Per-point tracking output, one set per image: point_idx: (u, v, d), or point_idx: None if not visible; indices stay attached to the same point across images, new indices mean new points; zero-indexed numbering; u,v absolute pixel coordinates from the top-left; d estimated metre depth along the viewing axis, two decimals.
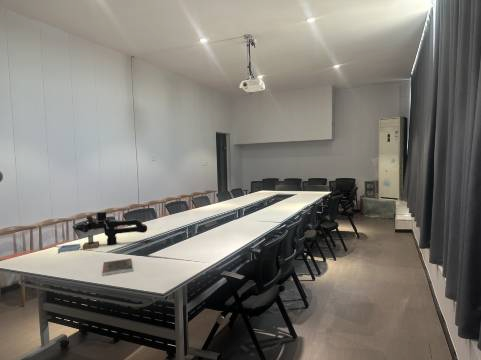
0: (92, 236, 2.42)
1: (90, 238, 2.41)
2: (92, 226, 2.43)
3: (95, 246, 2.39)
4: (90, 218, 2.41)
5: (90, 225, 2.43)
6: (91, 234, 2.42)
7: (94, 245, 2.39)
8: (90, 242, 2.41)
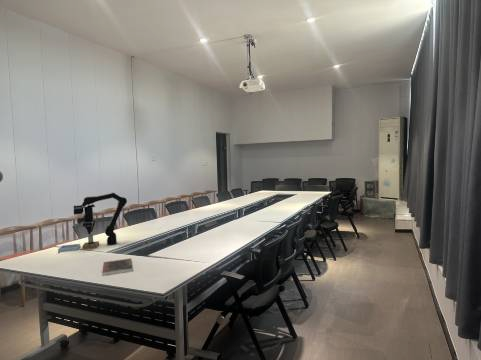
0: (92, 236, 2.42)
1: (90, 238, 2.41)
2: (88, 218, 2.39)
3: (95, 246, 2.39)
4: (78, 220, 2.36)
5: (87, 219, 2.39)
6: (91, 234, 2.42)
7: (94, 245, 2.39)
8: (90, 242, 2.41)
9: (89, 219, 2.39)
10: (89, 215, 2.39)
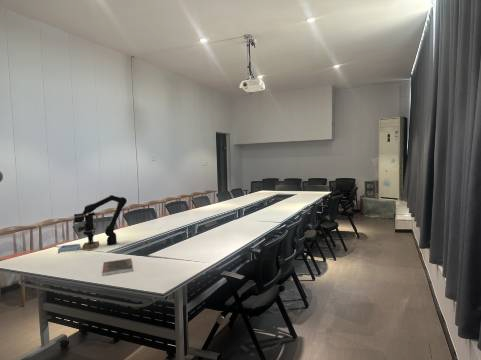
0: None
1: None
2: (89, 226, 2.39)
3: (95, 246, 2.39)
4: (79, 228, 2.36)
5: (88, 228, 2.39)
6: None
7: (94, 245, 2.39)
8: (90, 242, 2.41)
9: (90, 227, 2.40)
10: (90, 223, 2.40)
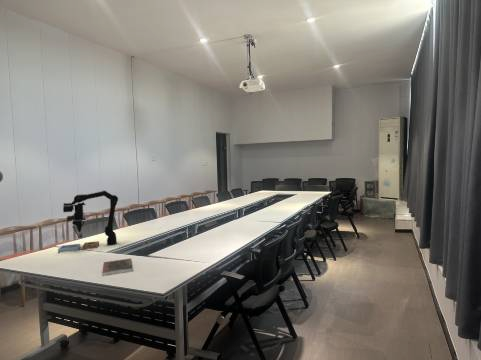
0: None
1: None
2: (78, 216, 2.37)
3: (95, 246, 2.39)
4: (68, 218, 2.34)
5: (77, 218, 2.37)
6: None
7: (94, 245, 2.39)
8: (79, 232, 2.39)
9: (79, 217, 2.37)
10: (79, 213, 2.37)
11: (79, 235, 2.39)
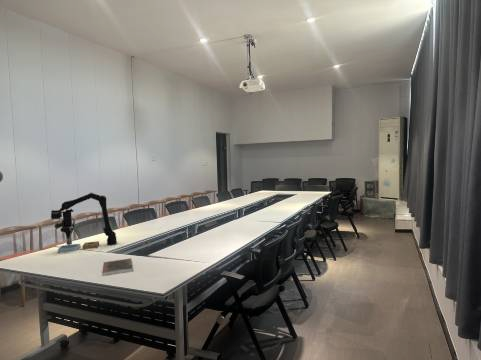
0: None
1: None
2: (66, 223, 2.35)
3: (95, 246, 2.39)
4: (56, 225, 2.32)
5: (65, 225, 2.35)
6: None
7: (94, 245, 2.39)
8: (68, 239, 2.37)
9: (67, 224, 2.35)
10: (67, 220, 2.35)
11: (68, 242, 2.37)
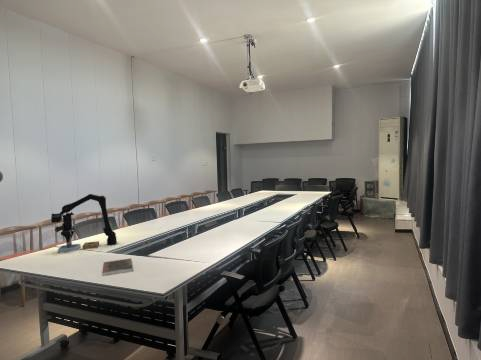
0: (70, 238, 2.38)
1: None
2: (67, 226, 2.35)
3: (95, 246, 2.39)
4: (56, 228, 2.32)
5: (65, 228, 2.35)
6: None
7: (94, 245, 2.39)
8: (68, 244, 2.37)
9: (68, 227, 2.35)
10: (68, 223, 2.35)
11: (68, 247, 2.37)
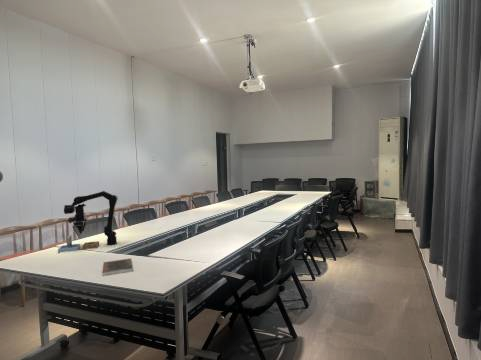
0: (70, 238, 2.38)
1: (68, 240, 2.37)
2: (79, 217, 2.41)
3: (95, 246, 2.39)
4: (69, 219, 2.38)
5: (78, 219, 2.41)
6: (69, 236, 2.37)
7: (94, 245, 2.39)
8: (68, 244, 2.37)
9: (80, 218, 2.41)
10: (80, 214, 2.41)
11: (68, 247, 2.37)
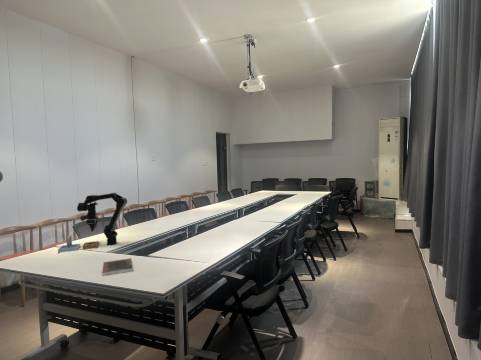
0: (70, 238, 2.38)
1: (68, 240, 2.37)
2: (91, 215, 2.47)
3: (95, 246, 2.39)
4: (82, 217, 2.44)
5: (90, 217, 2.47)
6: (69, 236, 2.37)
7: (94, 245, 2.39)
8: (68, 244, 2.37)
9: (92, 217, 2.47)
10: (92, 213, 2.47)
11: (68, 247, 2.37)
